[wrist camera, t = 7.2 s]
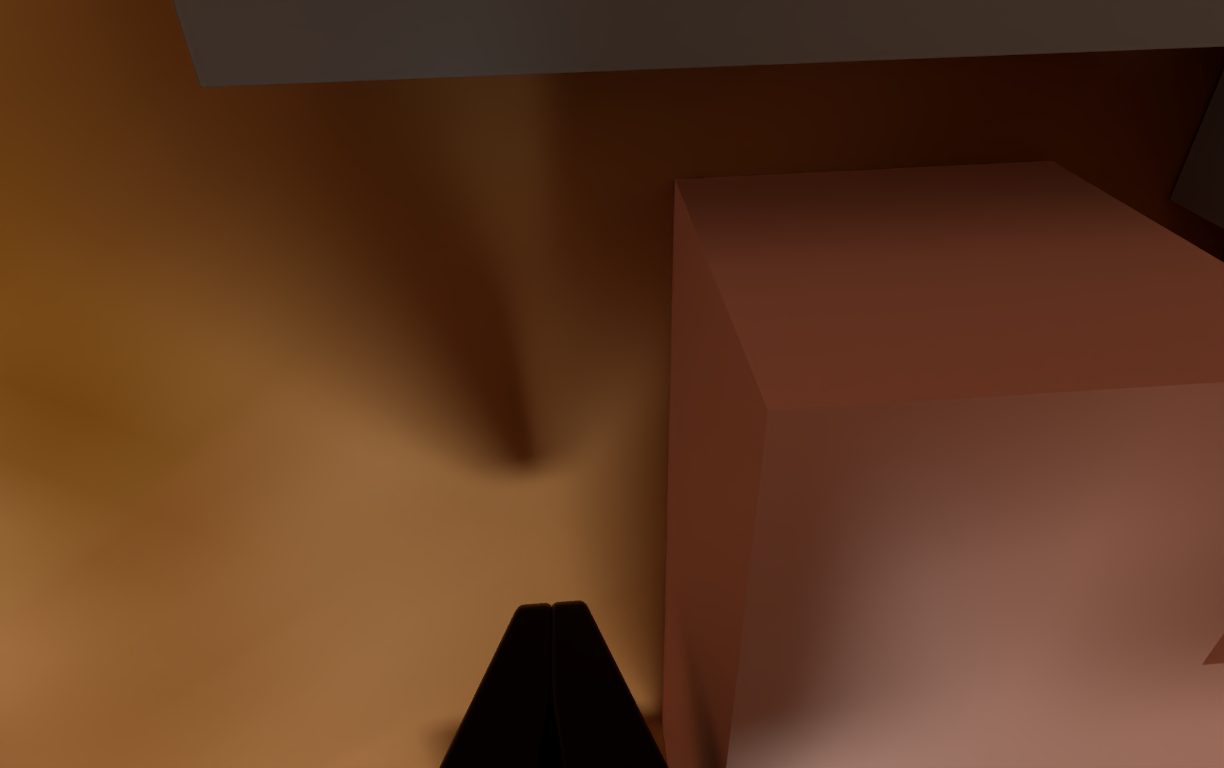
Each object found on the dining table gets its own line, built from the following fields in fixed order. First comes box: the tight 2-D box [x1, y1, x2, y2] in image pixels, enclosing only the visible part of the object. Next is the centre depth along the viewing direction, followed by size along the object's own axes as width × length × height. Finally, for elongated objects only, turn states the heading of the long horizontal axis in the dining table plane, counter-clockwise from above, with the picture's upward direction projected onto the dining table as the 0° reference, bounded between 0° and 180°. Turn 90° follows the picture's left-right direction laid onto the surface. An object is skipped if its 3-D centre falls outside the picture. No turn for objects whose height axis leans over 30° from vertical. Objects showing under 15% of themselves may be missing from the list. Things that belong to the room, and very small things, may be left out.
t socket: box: [173, 0, 1224, 229], centre depth 10 cm, size 17×15×2 cm
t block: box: [662, 161, 1224, 768], centre depth 9 cm, size 11×10×4 cm
